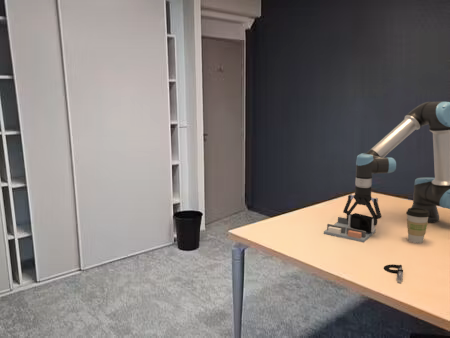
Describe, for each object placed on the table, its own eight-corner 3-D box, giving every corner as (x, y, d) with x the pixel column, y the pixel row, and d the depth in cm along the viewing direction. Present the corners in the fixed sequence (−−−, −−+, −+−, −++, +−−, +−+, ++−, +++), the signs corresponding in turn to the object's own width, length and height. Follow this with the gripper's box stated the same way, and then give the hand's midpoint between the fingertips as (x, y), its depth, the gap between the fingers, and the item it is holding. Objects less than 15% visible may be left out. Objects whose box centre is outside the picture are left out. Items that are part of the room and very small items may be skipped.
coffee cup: (418, 246, 175) (420, 214, 172) (399, 239, 184) (401, 209, 181) (432, 242, 180) (434, 211, 177) (413, 235, 188) (415, 206, 186)
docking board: (375, 231, 195) (376, 223, 194) (363, 242, 181) (364, 233, 180) (337, 224, 207) (337, 216, 206) (323, 233, 193) (323, 225, 192)
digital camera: (348, 228, 194) (349, 214, 193) (354, 225, 198) (355, 212, 196) (367, 233, 186) (368, 219, 185) (373, 230, 190) (374, 217, 189)
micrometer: (384, 265, 157) (384, 259, 157) (403, 268, 154) (403, 262, 154) (381, 281, 144) (381, 274, 143) (402, 284, 141) (402, 278, 140)
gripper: (337, 184, 192) (335, 226, 196) (385, 190, 178) (383, 236, 182) (342, 181, 197) (341, 222, 201) (390, 187, 183) (387, 231, 187)
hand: (361, 229), depth 192 cm, fingers closed on digital camera, 11 cm apart
